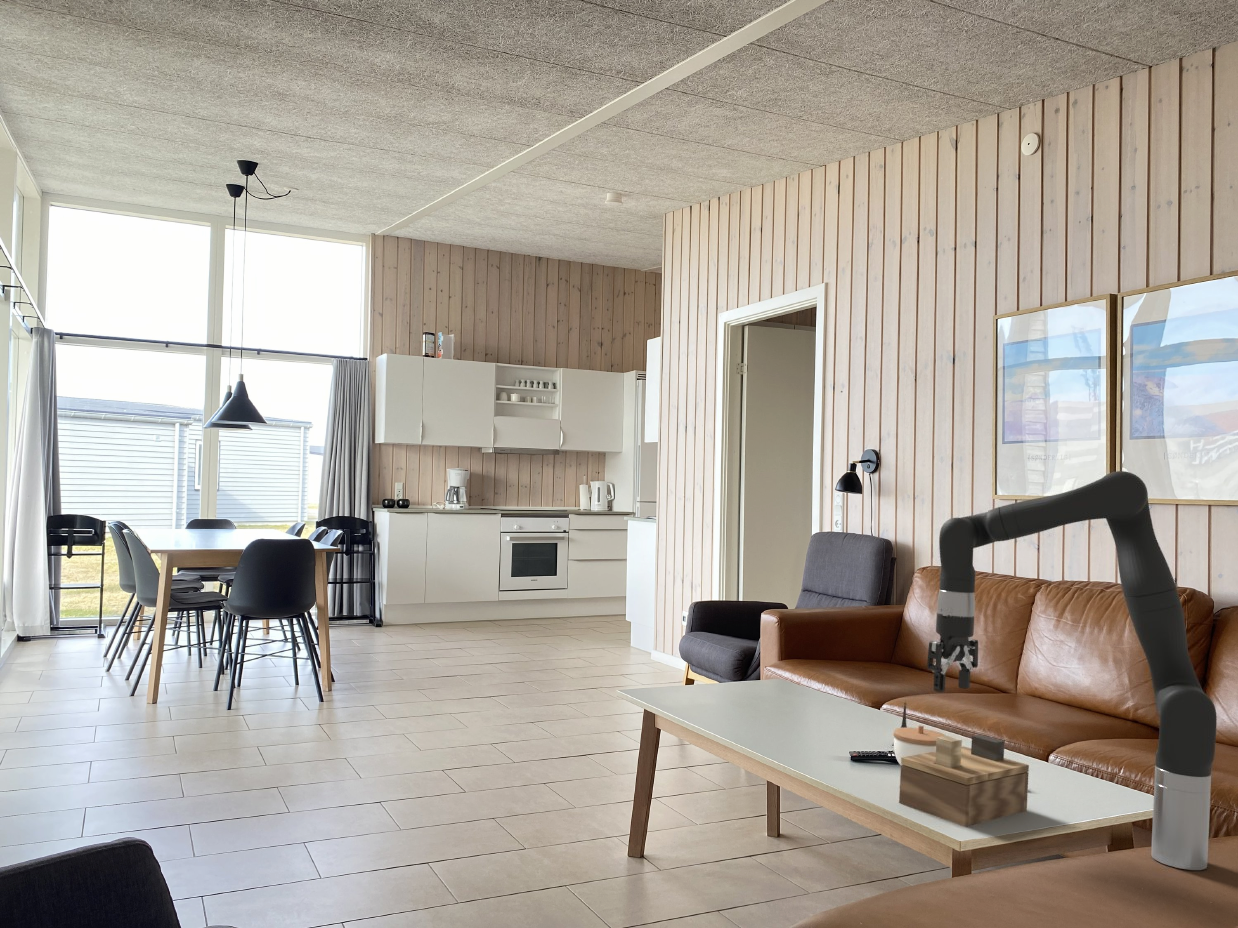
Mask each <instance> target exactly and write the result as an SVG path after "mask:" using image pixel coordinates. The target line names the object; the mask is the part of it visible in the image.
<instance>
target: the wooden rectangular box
mask: <svg viewBox="0 0 1238 928" xmlns="http://www.w3.org/2000/svg"><path fill="white" fill-rule="evenodd" d="M899 778H900V779H899V794H898V795H899V797H898V798H899V800H898V803H899V804H900V805H903V806H906V807H909V808H911V809H914V810H917V811H919V812H923V813H926V814H928V815H931V816H934V817H936V818H939V819H943V820H946V821H948V822H951V823H953V824H956V825H958V826H962V827H968V826H969V827H970V826H973V825H976V824H980V823H984V822H989V821H992V820H996V819H1001V818H1004V817H1007V816H1011V815H1012V816H1013V815H1016V814H1019V813H1022V812H1027V811H1028V795H1029V793H1028V792H1029V789H1028V788H1029V772H1025V773H1020V774H1015V775H1011V776H1006V777H1002V778H997V779H992V780H988V781H983V782H979V783H974V784H969V785H965V784H962V783H959V782H955V781H952V780H949V779H946V778H943V777H940V776H937V775H933V774H930V773H927V772H924V771H921V770H918V769H915V768H912V767H908V766H905V765H900V777H899Z"/></svg>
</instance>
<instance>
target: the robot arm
mask: <svg viewBox="0 0 1238 928" xmlns="http://www.w3.org/2000/svg"><path fill="white" fill-rule="evenodd" d="M1148 495H1149V493H1148V489H1147V486H1146V484H1145V482H1144V481H1143V480H1142V478H1141V477H1139V476H1138V475H1136V474H1134V473H1133V472H1128V471H1124V470H1117V471H1113V472H1110V473H1107V474H1106V475H1104V476H1102V478H1099V479H1097V480H1095V481H1092V482H1090V483H1088V484H1086V485H1083V486H1081V487H1077V488H1075V489H1072V490H1068V491H1065V492H1061V493H1057V494H1053V495H1047V496H1042V497H1038V498H1037V497H1036V498H1032V499H1026V500H1022V501H1018V502H1014V503H1009V504H1005V505H1001V506H997V507H995V508H992V509H990V510H988V511H986V512H982V513H976V514H971V515H968V516H963V517H952V518H949V519H947V520H946V521H945V522H944V523H943V524H942V526H941V528H940V530H939V537H938V538H939V540H938V547H939V559H940V573H939V586H938V588H939V590H938V596H937V604H936V605H937V606H936V621H935V622H936V623H935V624H936V625H935V633H937V634H938V635H939V640H938V641H935V640H934V641H933V640H930V641H929V643H928V651H927V653H928V654H927V663H926V668H927V670H928V671H932V673H933V691H934V692H938V693H944V692H945V691H946V677H947V676H946V675H947V674H946V672H947V670H948V669H949V667H951V666H952V664H953V663H957V665H958V668H959V670H958V685H957V686H958V688H959V689H964V690H969V689H970V685H971V672H973V669H974V668H975V669H977V668H978V665H979V641H978V639H976V638H975V639H974V638H972V637H974V632H975V615H976V612H975V611H976V599H975V597H976V596H975V591H976V590H975V589H976V570H975V567H974V563H973V561H974V549H976V548H979V547H983V546H987V545H991V544H993V543H997V542H1005V541H1010V540H1014V539H1019V538H1022V537H1023V538H1024V537H1028V536H1031V535H1036V534H1038V533H1042V532H1044V531H1048V530H1051V529H1055V528H1059V527H1062V526H1065V525H1070V524H1074V523H1078V522H1085V521H1091V520H1103V519H1106V522H1107V525H1108V527H1109V529H1110V533H1111V535H1112V538H1113V541H1114V545H1115V549H1116V555H1117V556H1116V557H1117V566H1118V573H1119V579H1120V584H1121V588H1122V593H1123V596H1124V601H1125V605H1126V608H1127V610H1128V611H1127V612H1128V614H1129V617H1130V619H1131V622H1132V625H1133V628H1134V631H1135V635H1136V636H1137V639H1138V641H1139V643H1140V646H1141V648H1142V651H1143V653H1144V654H1145V657H1146V660H1147V664H1148V668H1149V671H1150V673H1149V674H1150V678H1151V682H1152V689H1153V693H1154V699H1155V708H1156V712H1157V715H1158V716H1159V730H1158V744H1157V750H1156V751H1155V761H1154V763H1155V764H1154V784H1153V785H1154V786H1153V787H1154V788H1153V789H1154V790H1153V804H1152V806H1153V808H1152V827H1151V828H1152V829H1151V830H1152V831H1151V832H1152V833H1151V855H1150V856H1151V857H1152V859H1153V860H1155V861H1157V862H1159V863H1161V864H1163V865H1166V866H1170V867H1174V868H1177V869H1183V870H1188V871H1203V870H1206V869H1207V867H1208V852H1209V851H1208V850H1209V831H1210V814H1211V813H1210V809H1211V786H1212V785H1211V784H1212V781H1211V780H1212V767H1213V763H1214V760H1215V753H1216V751H1215V750H1216V736H1217V725H1218V724H1217V721H1218V720H1217V719H1218V718H1217V710H1216V707H1215V704H1214V702H1213V701H1212V699H1211V698H1210V697H1209V696H1208V695H1207V694H1206V693H1205V692H1204V690H1203V688H1202V686H1201V684H1200V682H1199V679H1198V677H1197V674H1196V671H1195V669H1194V666H1193V664H1192V661H1191V658H1190V653H1189V649H1188V641H1187V639H1188V638H1187V628H1186V621H1185V614H1184V609H1183V606H1182V602H1181V598H1180V595H1179V592H1178V589H1177V586H1176V582H1175V580H1174V577H1173V575H1172V572H1171V571H1172V570H1171V569H1170V567H1169V564H1168V562H1167V559H1166V557H1165V554H1164V553H1163V551H1162V549H1161V547H1160V544H1159V542H1158V540H1157V536H1156V533H1155V529H1154V525H1153V522H1152V516H1151V510H1150V504H1149V496H1148ZM971 657H972V658H971ZM934 661H935V662H934Z"/></svg>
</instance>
